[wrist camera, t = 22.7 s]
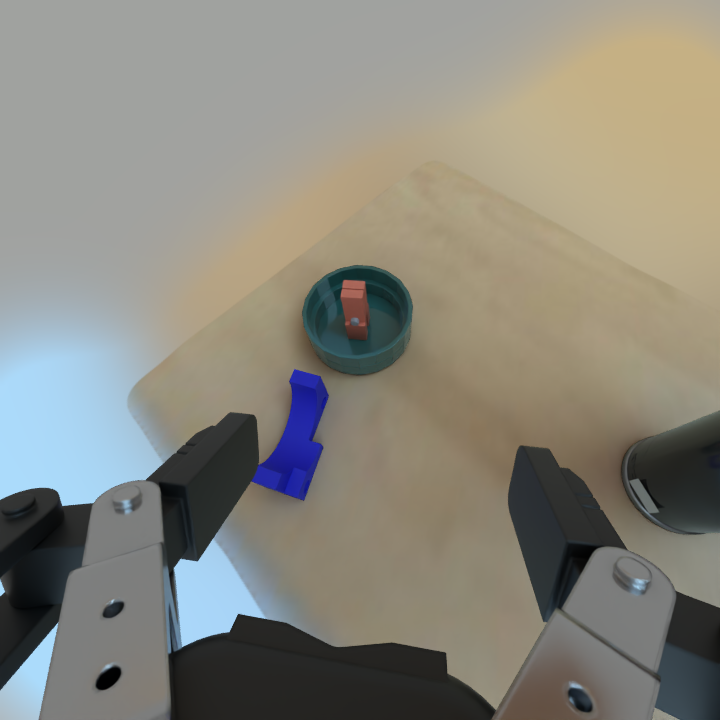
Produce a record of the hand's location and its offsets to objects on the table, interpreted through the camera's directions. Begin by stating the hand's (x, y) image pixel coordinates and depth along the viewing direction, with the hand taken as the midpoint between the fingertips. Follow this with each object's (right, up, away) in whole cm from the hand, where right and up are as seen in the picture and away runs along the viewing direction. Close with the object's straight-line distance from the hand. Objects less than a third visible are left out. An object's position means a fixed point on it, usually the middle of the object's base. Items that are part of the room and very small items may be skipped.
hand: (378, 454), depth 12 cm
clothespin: (-1, +7, +37) cm, 38 cm away
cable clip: (-7, -7, +32) cm, 33 cm away
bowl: (0, +7, +37) cm, 38 cm away
